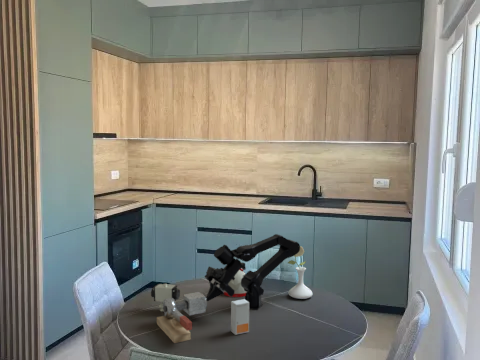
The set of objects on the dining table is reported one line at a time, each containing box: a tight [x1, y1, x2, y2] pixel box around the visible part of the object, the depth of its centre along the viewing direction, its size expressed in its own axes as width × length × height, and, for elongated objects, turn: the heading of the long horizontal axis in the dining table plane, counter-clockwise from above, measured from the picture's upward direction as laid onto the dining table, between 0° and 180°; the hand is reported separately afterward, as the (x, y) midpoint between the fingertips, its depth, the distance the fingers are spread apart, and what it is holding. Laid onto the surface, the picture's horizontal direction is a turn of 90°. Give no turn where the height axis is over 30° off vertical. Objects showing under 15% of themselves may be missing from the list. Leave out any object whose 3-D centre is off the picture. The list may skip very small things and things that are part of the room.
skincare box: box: [230, 298, 250, 336], centre depth 172 cm, size 6×4×12 cm
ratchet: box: [163, 298, 193, 331], centre depth 174 cm, size 10×24×8 cm, turn 29°
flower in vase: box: [287, 245, 313, 300], centre depth 211 cm, size 13×11×25 cm
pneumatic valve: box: [150, 283, 181, 313], centre depth 194 cm, size 6×12×12 cm, turn 76°
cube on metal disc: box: [182, 291, 208, 316], centre depth 185 cm, size 8×7×7 cm
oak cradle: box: [156, 315, 192, 344], centre depth 173 cm, size 7×20×5 cm, turn 29°
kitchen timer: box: [223, 268, 246, 298], centre depth 217 cm, size 14×14×15 cm
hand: (206, 300), depth 187 cm, fingers closed
